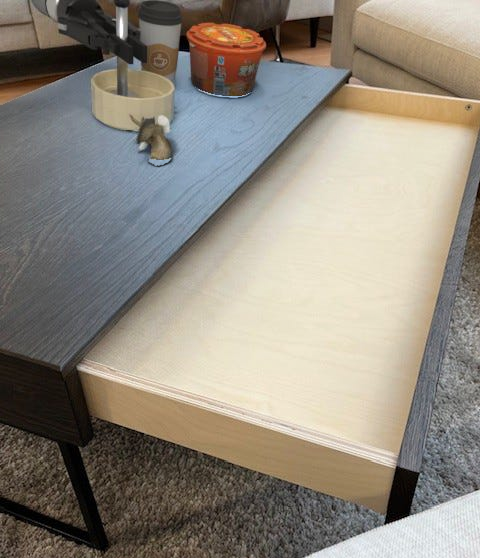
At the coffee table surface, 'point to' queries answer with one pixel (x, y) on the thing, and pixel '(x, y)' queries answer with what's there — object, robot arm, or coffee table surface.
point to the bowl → (131, 98)
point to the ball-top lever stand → (122, 67)
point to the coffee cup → (160, 36)
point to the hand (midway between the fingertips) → (138, 55)
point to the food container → (224, 58)
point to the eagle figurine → (154, 136)
